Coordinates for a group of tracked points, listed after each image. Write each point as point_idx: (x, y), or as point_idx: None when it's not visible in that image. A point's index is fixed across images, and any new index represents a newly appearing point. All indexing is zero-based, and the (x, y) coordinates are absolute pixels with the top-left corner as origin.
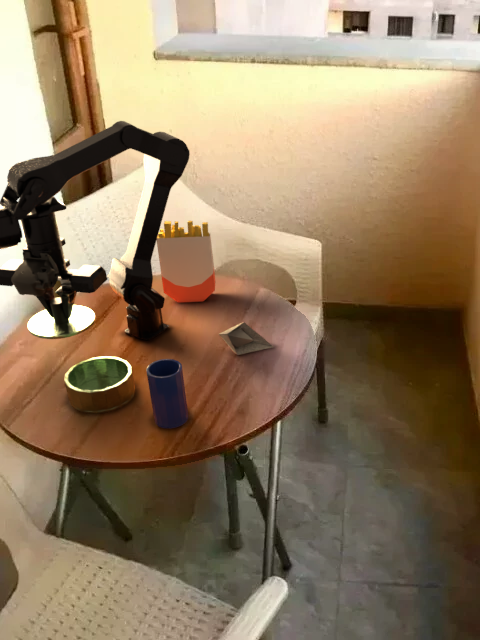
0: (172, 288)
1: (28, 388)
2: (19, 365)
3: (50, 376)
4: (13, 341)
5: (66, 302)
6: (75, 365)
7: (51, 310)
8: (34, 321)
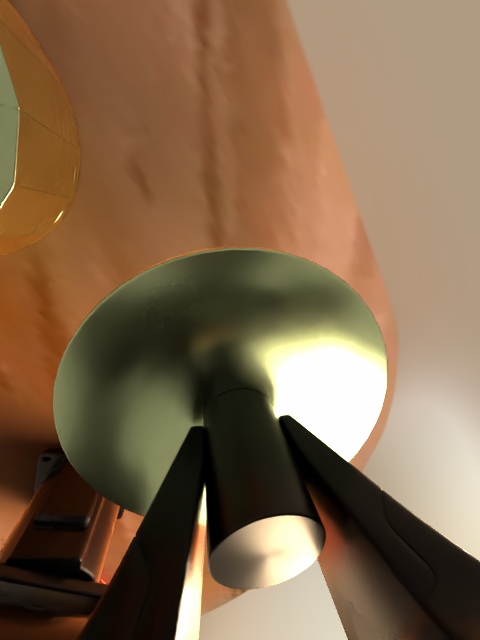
0: None
1: (253, 127)
2: (337, 258)
3: (219, 218)
4: (391, 356)
5: (120, 587)
6: (10, 139)
7: (295, 453)
8: (362, 372)
